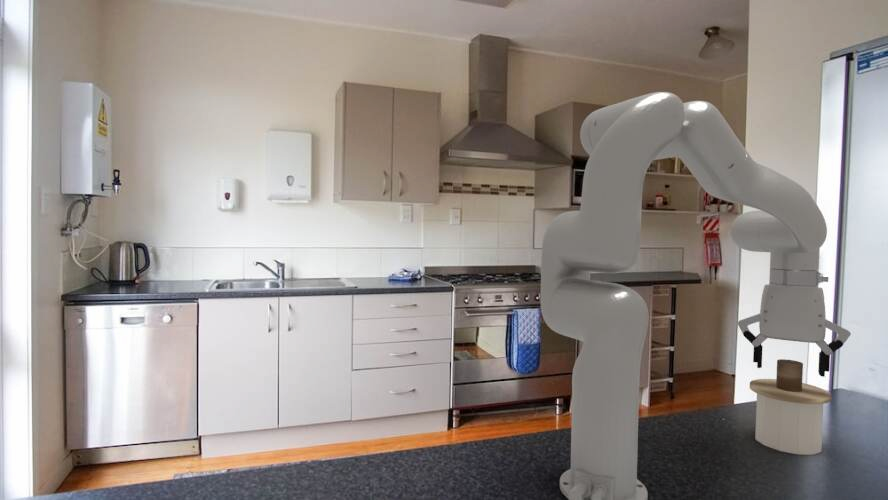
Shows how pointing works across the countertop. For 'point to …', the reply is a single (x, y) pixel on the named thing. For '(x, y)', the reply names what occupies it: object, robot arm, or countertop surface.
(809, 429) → the pot
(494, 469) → the countertop surface
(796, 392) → the lid
